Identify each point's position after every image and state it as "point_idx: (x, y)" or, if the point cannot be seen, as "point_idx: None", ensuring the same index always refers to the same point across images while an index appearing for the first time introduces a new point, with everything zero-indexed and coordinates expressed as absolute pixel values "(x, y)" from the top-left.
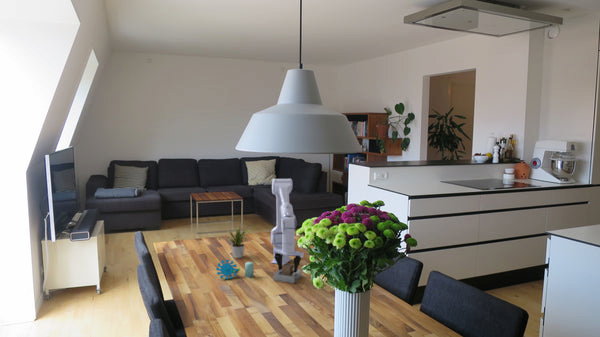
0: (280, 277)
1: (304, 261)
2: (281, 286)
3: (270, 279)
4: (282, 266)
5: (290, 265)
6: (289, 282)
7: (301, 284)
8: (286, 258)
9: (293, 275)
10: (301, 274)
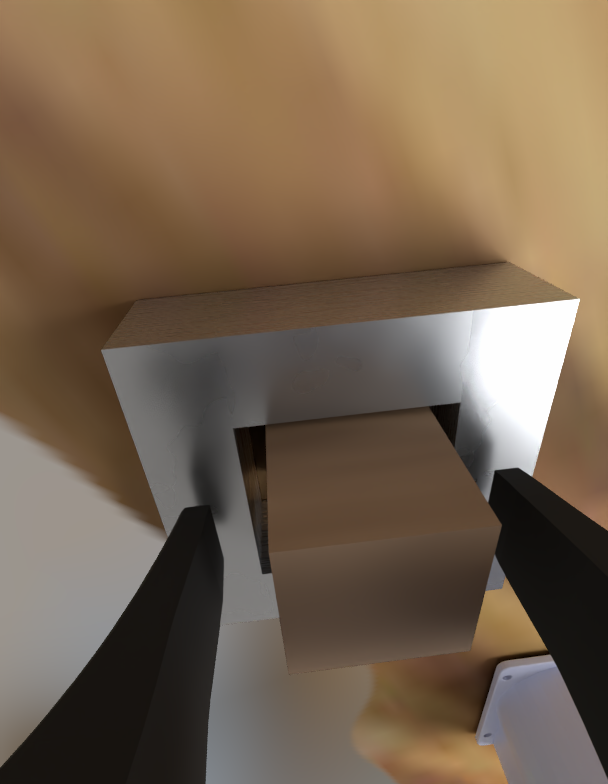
0: (409, 297)
1: (359, 749)
2: (260, 17)
3: (570, 269)
4: (479, 514)
5: (307, 616)
6: (223, 293)
7: (2, 316)
8: (515, 738)
9: (167, 410)
10: None
